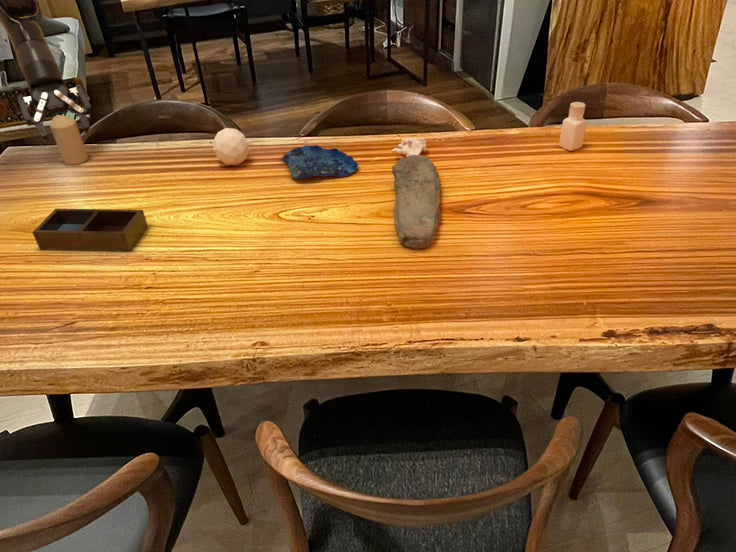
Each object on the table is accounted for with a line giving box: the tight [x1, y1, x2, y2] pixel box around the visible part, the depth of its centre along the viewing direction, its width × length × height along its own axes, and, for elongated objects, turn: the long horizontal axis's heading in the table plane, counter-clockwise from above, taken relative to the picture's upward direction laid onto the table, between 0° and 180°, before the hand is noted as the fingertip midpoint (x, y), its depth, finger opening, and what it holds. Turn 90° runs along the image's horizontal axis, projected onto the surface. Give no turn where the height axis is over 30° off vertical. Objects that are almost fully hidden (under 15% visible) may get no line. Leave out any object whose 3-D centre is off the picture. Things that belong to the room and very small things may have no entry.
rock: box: [282, 144, 359, 180], centre depth 138 cm, size 15×17×2 cm
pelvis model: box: [391, 136, 428, 158], centre depth 140 cm, size 8×4×7 cm
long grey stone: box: [391, 154, 442, 249], centre depth 122 cm, size 35×5×10 cm
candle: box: [49, 114, 89, 166], centre depth 141 cm, size 6×6×10 cm
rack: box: [32, 208, 149, 252], centre depth 116 cm, size 17×9×4 cm, turn 85°
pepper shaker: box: [558, 101, 588, 152], centre depth 138 cm, size 4×4×10 cm
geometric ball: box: [212, 127, 249, 166], centre depth 138 cm, size 8×8×8 cm
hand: (67, 135), depth 140 cm, fingers open, 8 cm apart
